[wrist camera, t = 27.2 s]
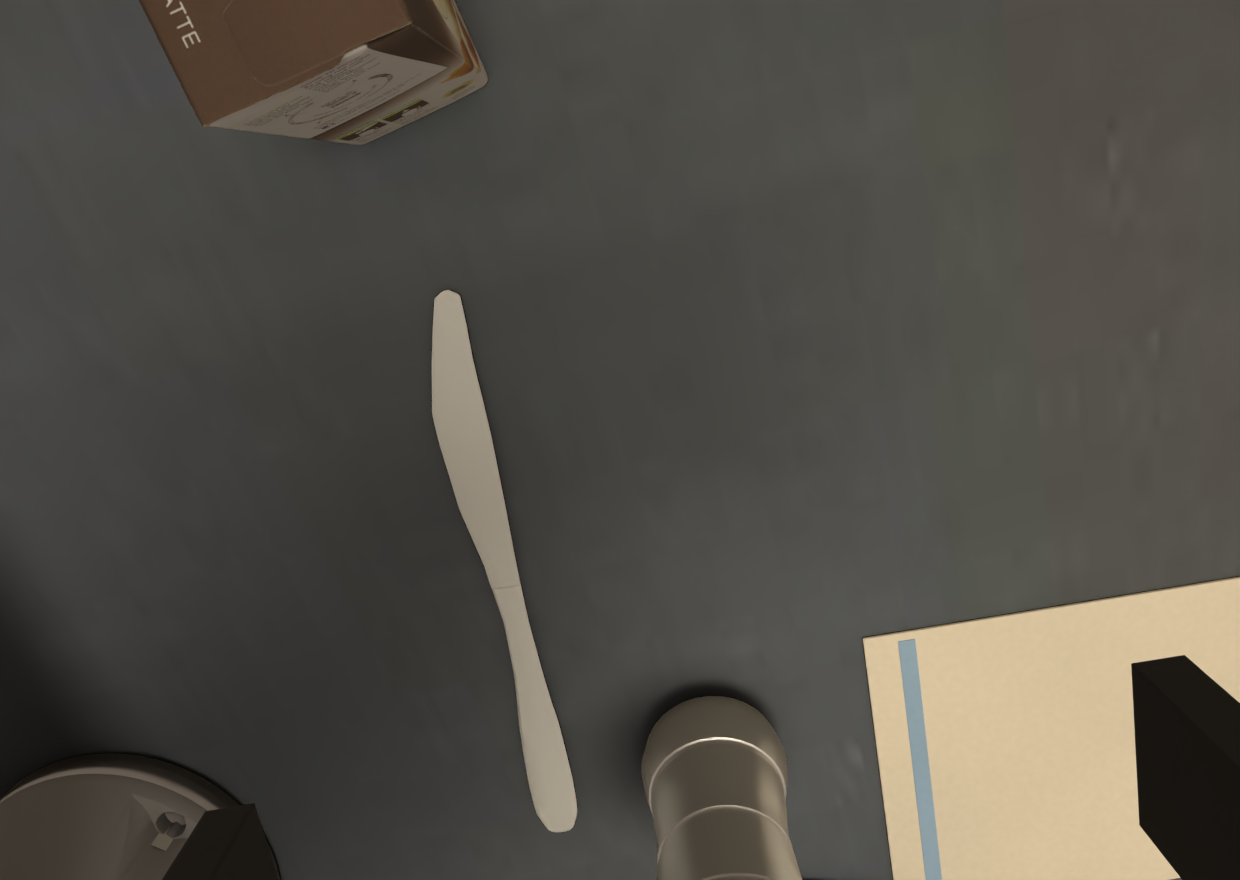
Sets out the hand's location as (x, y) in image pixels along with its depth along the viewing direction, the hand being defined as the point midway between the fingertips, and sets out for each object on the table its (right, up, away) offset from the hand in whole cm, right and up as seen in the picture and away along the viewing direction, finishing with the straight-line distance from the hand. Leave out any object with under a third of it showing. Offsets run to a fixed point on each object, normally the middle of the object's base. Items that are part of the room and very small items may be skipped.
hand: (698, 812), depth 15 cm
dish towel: (+23, -10, +35) cm, 42 cm away
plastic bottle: (+3, -9, +34) cm, 36 cm away
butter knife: (-7, -1, +32) cm, 33 cm away
